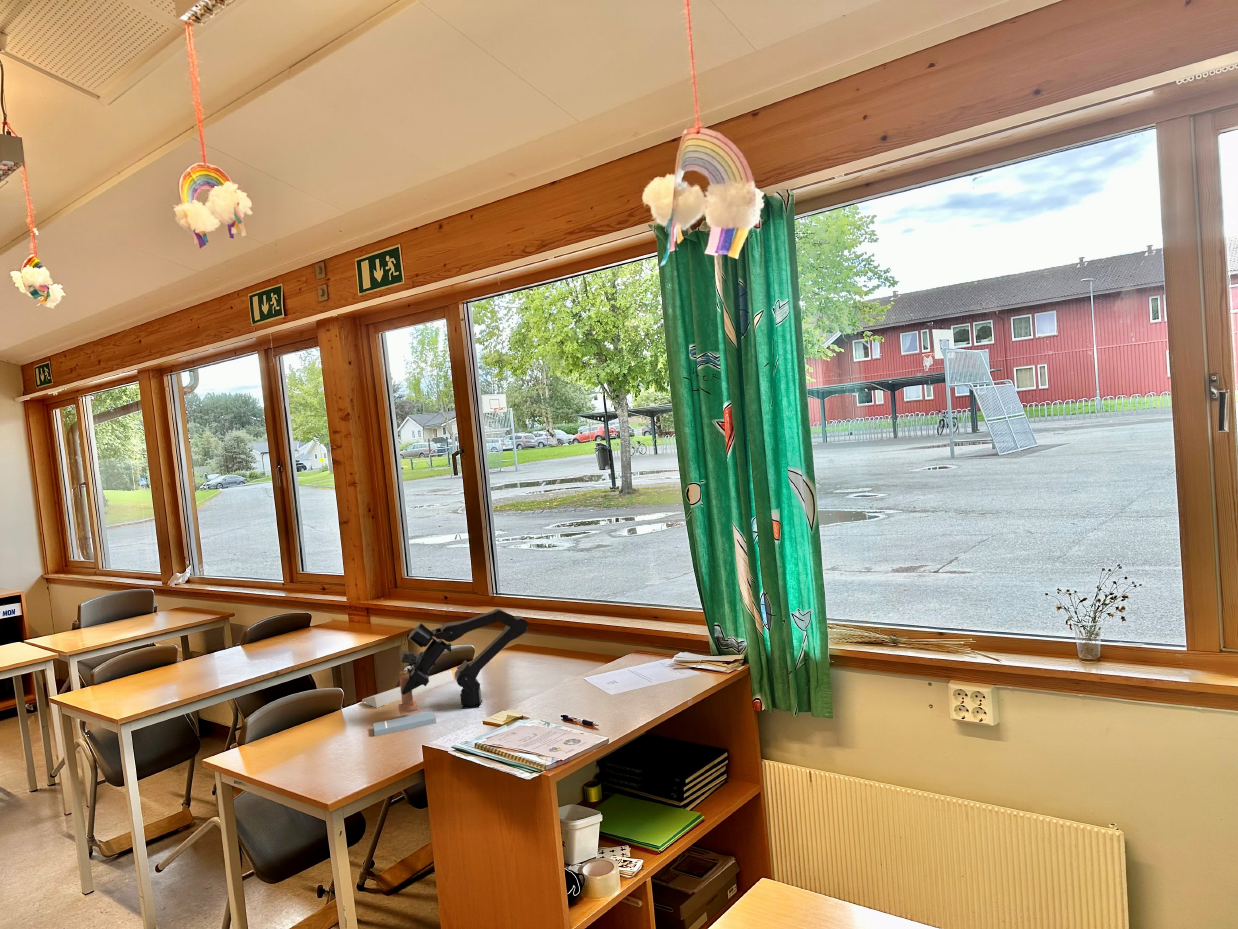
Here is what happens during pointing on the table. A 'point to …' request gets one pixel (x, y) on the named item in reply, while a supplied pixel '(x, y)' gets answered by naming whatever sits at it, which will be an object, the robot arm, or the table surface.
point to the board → (404, 723)
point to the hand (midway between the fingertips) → (402, 692)
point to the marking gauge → (406, 695)
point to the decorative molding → (396, 692)
